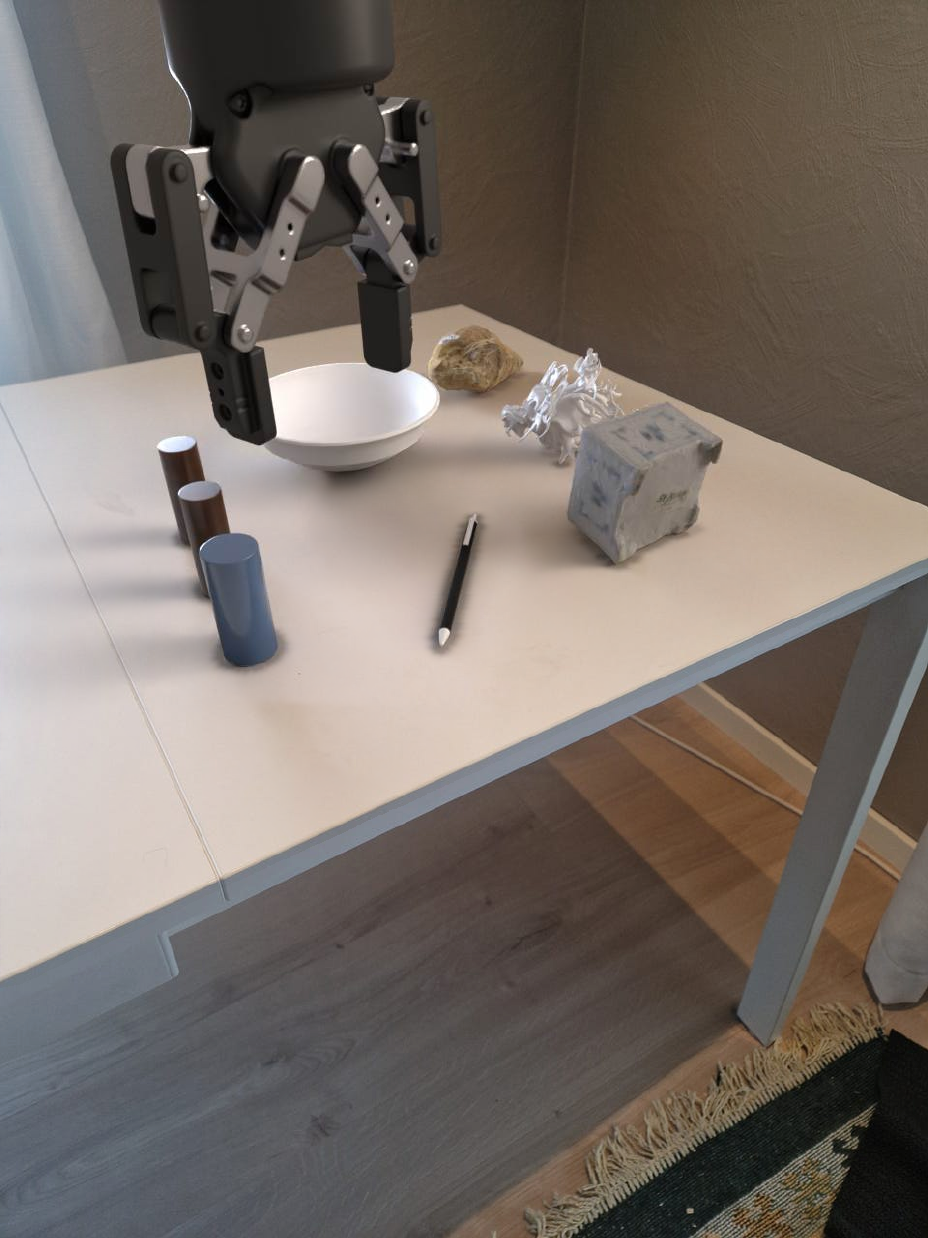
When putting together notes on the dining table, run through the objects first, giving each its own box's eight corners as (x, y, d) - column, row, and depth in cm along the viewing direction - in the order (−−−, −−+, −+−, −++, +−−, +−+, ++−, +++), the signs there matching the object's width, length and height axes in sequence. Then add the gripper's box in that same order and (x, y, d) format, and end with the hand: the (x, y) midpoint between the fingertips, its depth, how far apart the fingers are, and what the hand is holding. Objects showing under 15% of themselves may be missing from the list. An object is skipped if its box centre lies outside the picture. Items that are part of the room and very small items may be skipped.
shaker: (230, 672, 63) (205, 569, 57) (218, 641, 65) (193, 541, 60) (284, 656, 64) (265, 554, 58) (269, 627, 67) (250, 527, 61)
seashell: (508, 407, 109) (466, 364, 111) (547, 356, 105) (503, 311, 106) (454, 412, 98) (408, 363, 99) (496, 354, 94) (447, 305, 95)
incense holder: (625, 572, 72) (638, 460, 66) (562, 529, 77) (569, 421, 71) (709, 537, 76) (729, 427, 70) (644, 498, 82) (657, 393, 75)
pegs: (206, 602, 70) (182, 504, 64) (177, 531, 78) (154, 440, 73) (245, 592, 71) (225, 495, 65) (212, 523, 79) (192, 432, 74)
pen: (479, 520, 79) (479, 509, 79) (446, 651, 64) (446, 640, 64) (469, 519, 79) (469, 508, 79) (435, 650, 64) (434, 639, 64)
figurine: (499, 398, 94) (560, 308, 87) (610, 468, 97) (677, 386, 91) (491, 451, 84) (559, 353, 77) (616, 526, 87) (691, 439, 81)
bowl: (472, 434, 93) (472, 377, 89) (383, 522, 79) (378, 458, 75) (317, 405, 100) (310, 351, 96) (209, 481, 86) (195, 421, 82)
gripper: (327, -87, 33) (364, 335, 43) (-19, -99, 24) (129, 442, 34) (492, -96, 30) (491, 365, 39) (162, -114, 20) (268, 494, 30)
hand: (324, 400), depth 36 cm, fingers open, 8 cm apart
